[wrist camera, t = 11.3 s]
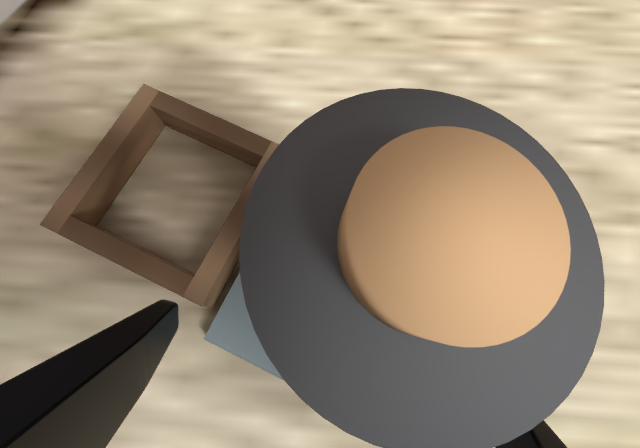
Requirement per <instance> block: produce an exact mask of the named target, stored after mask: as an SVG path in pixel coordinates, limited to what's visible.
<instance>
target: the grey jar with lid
mask: <svg viewBox="0 0 640 448" xmlns="http://www.w3.org/2000/svg"><path fill="white" fill-rule="evenodd" d="M239 263H240V278H241V284H242V289H243V294H244V299H245V304H246V308H247V311H248V313H249V316H250V319H251V322H252V325H253V328H254V331H255V333H256V335H257V337H258V339H259V341H260V343H261V345H262V347H263V349H264V351H265V353H266V355H267V356H268V358H269V359H270V361H271V362H272V364H273V365H274V367H275V368H276V369H277V371H278V372H279V374H280V375H281V377H282V378H283V379H284V380H285V382H286V383H287V384H288V385H289V386H290V387H291V388H292V389H293V390H294V392H295V393H296V394H297V395H298V396H299V397H300V398H301V399H302V400H303V401H304V402H305V403H306V404H308V405H309V406H310V407H311V408H312V409H314V410H315V411H316V412H317V413H318V414H319V415H321V416H322V417H323V418H324V419H326V420H328V421H329V422H331V423H332V424H334V425H335V426H337V427H339V428H340V429H342V430H343V431H345V432H347V433H348V434H351V435H353V436H355V437H357V438H359V439H362V440H364V441H366V442H368V443H371V444H373V445H376V446H379V447H383V448H493V447H496V446H499V445H502V444H504V443H507V442H509V441H511V440H513V439H515V438H517V437H519V436H520V435H522V434H524V433H526V432H528V431H530V430H531V429H533V428H534V427H535V426H536V425H538V424H539V423H540V422H542V421H543V420H544V419H546V418H547V417H548V416H549V415H551V414H552V413H553V412H554V411H555V409H556V408H557V407H558V406H559V405H560V404H561V403H562V402H563V401H564V400H565V399H566V398H567V397H568V396H569V394H570V393H571V391H572V390H573V388H574V387H575V385H576V384H577V382H578V381H579V379H580V378H581V376H582V375H583V373H584V371H585V368H586V366H587V364H588V362H589V360H590V358H591V356H592V354H593V351H594V348H595V344H596V341H597V338H598V335H599V331H600V327H601V320H602V314H603V308H604V274H603V264H602V257H601V252H600V248H599V244H598V239H597V235H596V232H595V230H594V227H593V224H592V221H591V218H590V216H589V213H588V211H587V209H586V207H585V205H584V203H583V201H582V199H581V197H580V195H579V193H578V191H577V190H576V188H575V187H574V185H573V183H572V182H571V180H570V179H569V177H568V176H567V174H566V173H565V172H564V170H563V169H562V168H561V167H560V165H559V164H558V163H557V162H556V160H555V159H554V158H553V157H552V156H551V155H550V154H549V153H548V152H547V151H546V150H545V149H544V148H543V147H542V146H541V145H540V144H539V143H538V142H537V141H536V140H535V139H534V138H533V137H532V136H530V135H529V134H528V133H527V132H525V131H524V130H523V129H522V128H520V127H519V126H518V125H516V124H515V123H513V122H512V121H510V120H508V119H507V118H505V117H504V116H502V115H501V114H499V113H497V112H495V111H493V110H491V109H489V108H487V107H485V106H483V105H481V104H478V103H476V102H473V101H470V100H468V99H465V98H462V97H459V96H455V95H451V94H447V93H443V92H438V91H431V90H424V89H406V88H399V89H386V90H378V91H373V92H368V93H363V94H359V95H356V96H353V97H350V98H347V99H344V100H341V101H339V102H337V103H334V104H332V105H330V106H328V107H326V108H324V109H322V110H320V111H319V112H317V113H316V114H314V115H313V116H311V117H310V118H308V119H306V120H305V121H304V122H303V123H301V124H300V125H299V126H298V127H297V128H295V129H294V130H293V131H292V132H291V133H289V135H288V136H287V137H286V138H285V139H284V140H283V141H282V142H281V143H280V144H279V146H278V147H277V148H276V149H275V150H274V152H273V153H272V154H271V156H270V157H269V159H268V160H267V162H266V163H265V165H264V166H263V168H262V170H261V172H260V174H259V175H258V177H257V179H256V181H255V183H254V185H253V188H252V190H251V193H250V196H249V199H248V202H247V205H246V207H245V212H244V217H243V222H242V227H241V233H240V247H239Z"/></svg>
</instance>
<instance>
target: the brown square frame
mask: <svg viewBox="0 0 640 448" xmlns="http://www.w3.org/2000/svg"><path fill="white" fill-rule="evenodd" d="M165 125H166V126H168V127H170V128H172V129H174V130H177V131H179V132H181V133H183V134H185V135H188V136H190V137H192V138H194V139H196V140H198V141H201V142H203V143H205V144H207V145H209V146H212V147H214V148H216V149H218V150H220V151H222V152H225V153H227V154H229V155H231V156H233V157H235V158H238V159H240V160H242V161H244V162H246V163H249V164H251V165H253V166H255V167H257V168H256V170H255V171H254V173H253V175H252V177H251V178H250V180H249V182H248V184H247V185H246V187H245V189H244V191H243V192H242V194H241V196H240V198H239V199H238V201H237V203H236V204H235V206H234V208H233V210H232V211H231V213H230V215H229V217H228V218H227V220H226V222H225V224H224V225H223V227H222V229H221V231H220V232H219V234H218V236H217V237H216V239H215V241H214V243H213V244H212V246H211V248H210V250H209V251H208V253H207V255H206V257H205V258H204V260H203V262H202V264H201V265H200V267H199V269H198V270H197V272H196V274H193V273H191V272H189V271H187V270H185V269H183V268H181V267H179V266H177V265H175V264H173V263H171V262H169V261H167V260H165V259H163V258H161V257H159V256H157V255H155V254H153V253H151V252H149V251H147V250H144V249H142V248H140V247H138V246H136V245H134V244H132V243H130V242H128V241H126V240H124V239H122V238H120V237H118V236H116V235H114V234H112V233H110V232H108V231H106V230H104V229H102V228H100V227H98V226H96V225H97V224H98V222H99V221H100V219H101V218H102V216H103V215H104V214H105V212H106V211H107V209H108V208H109V206H110V205H111V203H112V202H113V201H114V199H115V198H116V196H117V195H118V193H119V192H120V190H121V189H122V187H123V186H124V185H125V183H126V182H127V180H128V179H129V177H130V176H131V174H132V173H133V171H134V170H135V169H136V167H137V166H138V164H139V163H140V161H141V160H142V158H143V157H144V156H145V154H146V153H147V151H148V150H149V148H150V147H151V145H152V144H153V142H154V141H155V140H156V138H157V137H158V135H159V134H160V132H161V131H162V129H163V128H164V126H165ZM278 146H279V145H278V144H276V143H274V142H272V141H269V140H267V139H265V138H263V137H261V136H258V135H256V134H254V133H252V132H249V131H247V130H245V129H243V128H241V127H238V126H236V125H234V124H232V123H229V122H227V121H225V120H223V119H221V118H218V117H216V116H214V115H212V114H209V113H207V112H205V111H203V110H201V109H198V108H196V107H194V106H192V105H189V104H187V103H185V102H183V101H181V100H178V99H176V98H174V97H172V96H169V95H167V94H165V93H163V92H161V91H158V90H156V89H154V88H152V87H149V86H147V85H145V84H143V86H142V87H141V88H140V90H139V91H138V92H137V94H136V95H135V97H134V98H133V99H132V101H131V102H130V103H129V105H128V106H127V107H126V109H125V110H124V111H123V113H122V114H121V115H120V117H119V118H118V119H117V121H116V122H115V124H114V125H113V126H112V128H111V129H110V130H109V132H108V133H107V134H106V136H105V137H104V138H103V140H102V141H101V142H100V144H99V145H98V147H97V148H96V149H95V151H94V152H93V153H92V155H91V156H90V157H89V159H88V160H87V161H86V163H85V164H84V165H83V167H82V168H81V170H80V171H79V172H78V174H77V175H76V176H75V178H74V179H73V180H72V182H71V183H70V184H69V186H68V187H67V188H66V190H65V191H64V192H63V194H62V195H61V197H60V198H59V199H58V201H57V202H56V203H55V205H54V206H53V207H52V209H51V210H50V211H49V213H48V214H47V215H46V217H45V218H44V220H43V221H42V222H41V224H40V225H42V226H44V227H46V228H48V229H50V230H52V231H53V232H55V233H57V234H59V235H61V236H63V237H65V238H67V239H69V240H71V241H73V242H75V243H77V244H79V245H81V246H83V247H85V248H87V249H89V250H91V251H93V252H95V253H97V254H99V255H101V256H103V257H105V258H107V259H109V260H111V261H113V262H115V263H117V264H119V265H121V266H123V267H125V268H127V269H129V270H131V271H133V272H135V273H137V274H139V275H141V276H143V277H145V278H146V279H148V280H150V281H152V282H154V283H156V284H158V285H160V286H162V287H164V288H166V289H168V290H170V291H172V292H174V293H176V294H178V295H180V296H182V297H184V298H186V299H188V300H190V301H192V302H194V303H196V304H198V305H200V306H214V304H215V303H216V301H217V299H218V297H219V295H220V293H221V292H222V290H223V288H224V286H225V284H226V282H227V281H228V279H229V277H230V275H231V273H232V271H233V270H234V268H235V266H236V264H237V262H238V260H239V247H240V233H241V227H242V222H243V217H244V212H245V207H246V205H247V202H248V199H249V196H250V193H251V190H252V188H253V185H254V183H255V181H256V179H257V177H258V175H259V174H260V172H261V170H262V168H263V166H264V165H265V163H266V162H267V160H268V159H269V157H270V156H271V154H272V153H273V152H274V150H275V149H276V148H277V147H278Z"/></svg>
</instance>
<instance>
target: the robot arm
mask: <svg viewBox="0 0 640 448" xmlns="http://www.w3.org/2000/svg"><path fill="white" fill-rule="evenodd" d="M177 328H178V305H177V303H175V302H172V301H168V300H160V301H157V302H156V303H154V304H152V305H150V306H148V307H146V308H144V309H142V310H141V311H139V312H137V313H135V314H133V315H131V316H129V317H127V318H125V319H124V320H122V321H120V322H118V323H116V324H114V325H112V326H110V327H108V328H107V329H105V330H103V331H101V332H99V333H97V334H95V335H93V336H91V337H90V338H88V339H86V340H84V341H82V342H80V343H78V344H76V345H74V346H73V347H71V348H69V349H67V350H65V351H63V352H61V353H59V354H57V355H56V356H54V357H52V358H50V359H48V360H46V361H44V362H42V363H40V364H39V365H37V366H35V367H33V368H31V369H29V370H27V371H25V372H23V373H22V374H20V375H18V376H16V377H14V378H12V379H10V380H8V381H6V382H5V383H3V384H1V385H0V448H106V446H107V445H108V443H109V442H110V440H111V439H112V437H113V436H114V434H115V433H116V431H117V430H118V428H119V427H120V425H121V424H122V422H123V421H124V419H125V418H126V416H127V415H128V414H129V412H130V411H131V409H132V408H133V406H134V405H135V403H136V402H137V400H138V399H139V397H140V396H141V394H142V393H143V391H144V390H145V388H146V386H147V385H148V383H149V381H150V379H151V378H152V376H153V374H154V372H155V370H156V368H157V366H158V365H159V363H160V361H161V359H162V357H163V355H164V353H165V352H166V350H167V348H168V346H169V344H170V342H171V340H172V339H173V337H174V335H175V333H176V331H177ZM495 448H567V447H566V445H565V444H564V443H563V442H562V441H561V440H560V439H559V437H558V436H557V435H556V434H555V433H554V432H553V430H552V429H551V428H550V427H549V426H548V425H547V424H546V422H545V421H544V420H543V421H542V422H540V423H539V424H538V425H536V426H535V427H534V428H533V429H531V430H530V431H528V432H526V433H524V434H522V435H520V436H519V437H517V438H515V439H513V440H511V441H509V442H507V443H504V444H502V445H499V446H496V447H495Z"/></svg>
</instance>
